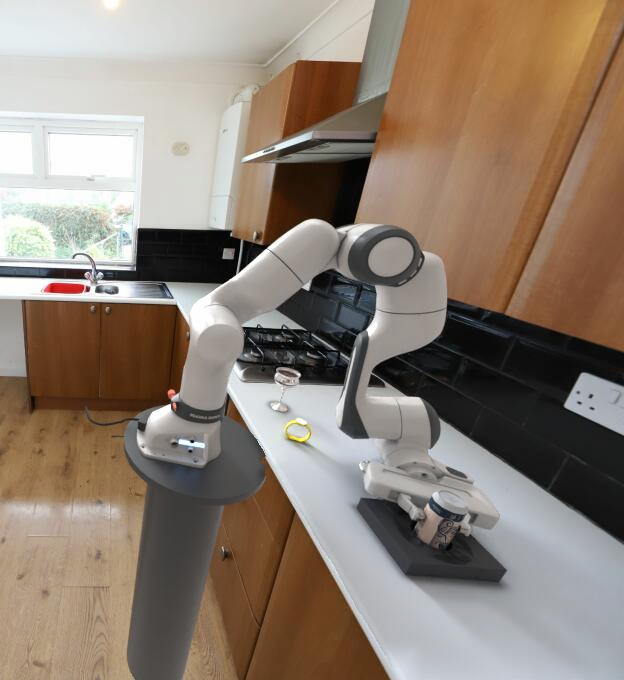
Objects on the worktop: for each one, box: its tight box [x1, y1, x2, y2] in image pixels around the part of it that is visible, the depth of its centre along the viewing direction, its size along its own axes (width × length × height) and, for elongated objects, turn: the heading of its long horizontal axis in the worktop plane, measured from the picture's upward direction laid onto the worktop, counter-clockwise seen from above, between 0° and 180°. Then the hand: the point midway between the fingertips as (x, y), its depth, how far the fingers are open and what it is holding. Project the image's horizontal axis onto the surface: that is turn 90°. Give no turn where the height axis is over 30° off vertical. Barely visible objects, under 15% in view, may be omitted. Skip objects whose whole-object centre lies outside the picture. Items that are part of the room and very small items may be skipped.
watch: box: [284, 417, 312, 443], centre depth 92 cm, size 6×3×6 cm, turn 65°
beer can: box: [413, 490, 468, 550], centre depth 63 cm, size 5×5×12 cm
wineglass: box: [269, 366, 302, 412], centre depth 106 cm, size 7×7×12 cm
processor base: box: [356, 497, 508, 583], centre depth 66 cm, size 16×14×3 cm
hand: (441, 525), depth 62 cm, fingers open, 5 cm apart
